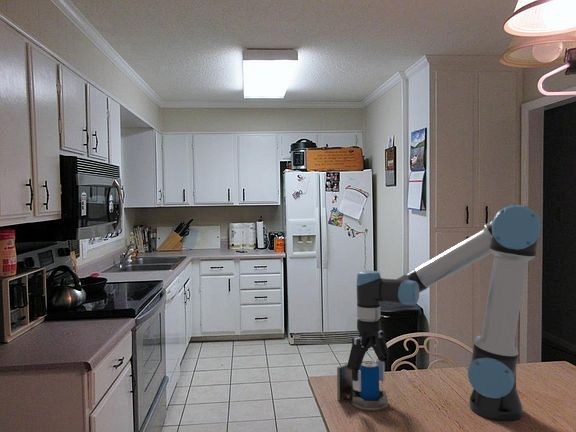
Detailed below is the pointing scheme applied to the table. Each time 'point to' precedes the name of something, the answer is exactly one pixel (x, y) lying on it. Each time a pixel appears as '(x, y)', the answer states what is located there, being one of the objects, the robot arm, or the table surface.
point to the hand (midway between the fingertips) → (369, 385)
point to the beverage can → (369, 380)
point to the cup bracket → (357, 392)
